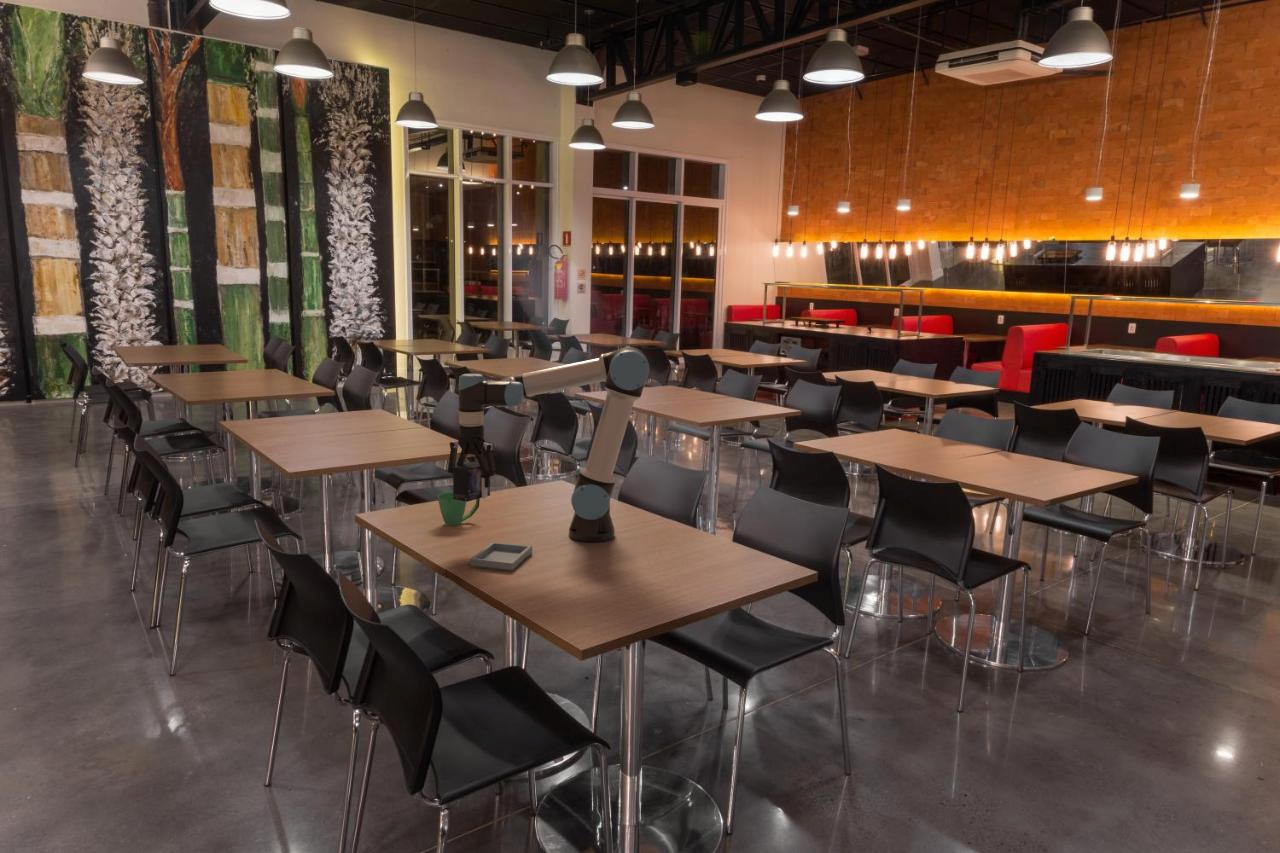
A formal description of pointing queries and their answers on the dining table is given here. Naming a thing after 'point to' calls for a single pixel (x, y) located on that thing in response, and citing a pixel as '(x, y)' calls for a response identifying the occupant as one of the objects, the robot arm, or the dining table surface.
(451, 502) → the mug
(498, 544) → the tray
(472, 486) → the small box
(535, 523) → the dining table surface
